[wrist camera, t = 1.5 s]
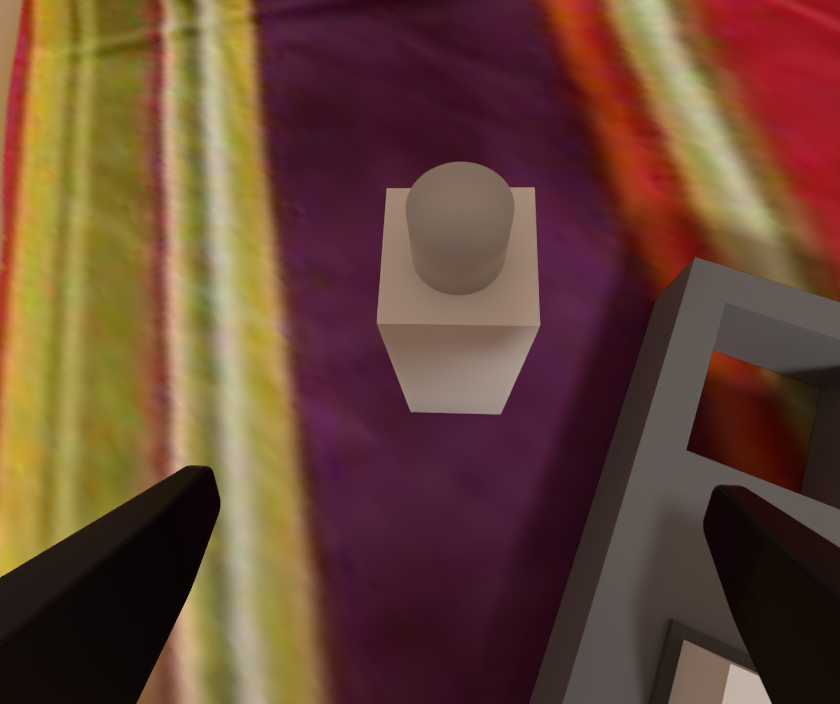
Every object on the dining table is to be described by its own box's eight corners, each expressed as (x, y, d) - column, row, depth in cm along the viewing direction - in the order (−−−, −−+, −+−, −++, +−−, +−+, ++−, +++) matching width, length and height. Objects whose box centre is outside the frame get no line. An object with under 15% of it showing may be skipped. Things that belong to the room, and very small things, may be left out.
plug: (500, 414, 22) (556, 289, 10) (410, 412, 22) (362, 287, 10) (499, 330, 23) (548, 132, 11) (414, 329, 24) (376, 135, 12)
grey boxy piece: (763, 954, 16) (986, 1263, 9) (496, 805, 17) (523, 979, 11) (863, 369, 22) (1044, 302, 15) (655, 299, 23) (736, 211, 17)
